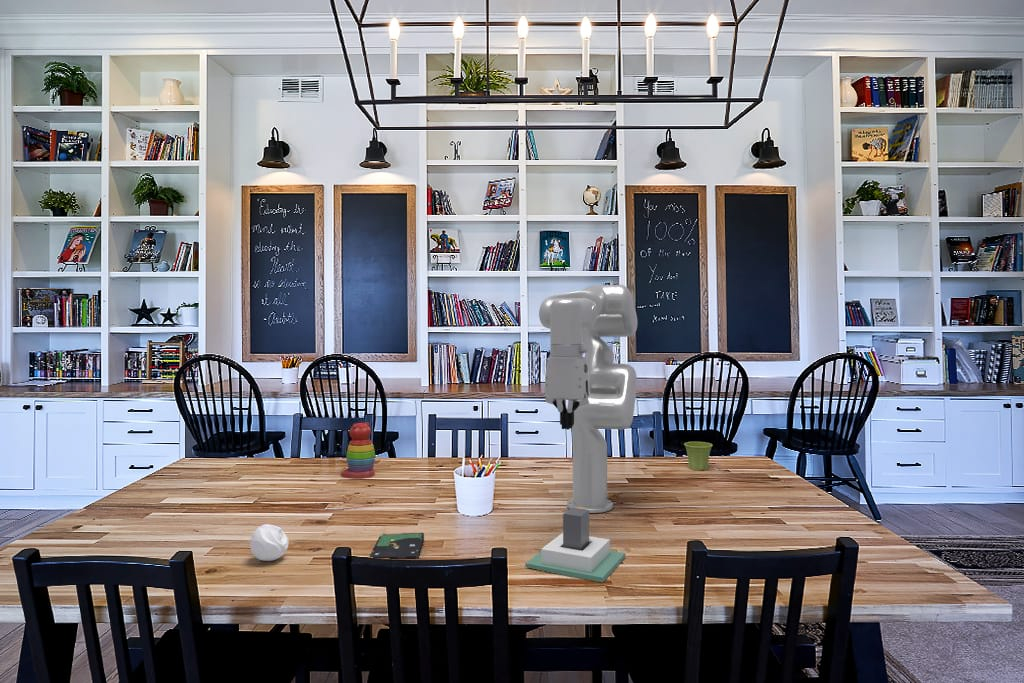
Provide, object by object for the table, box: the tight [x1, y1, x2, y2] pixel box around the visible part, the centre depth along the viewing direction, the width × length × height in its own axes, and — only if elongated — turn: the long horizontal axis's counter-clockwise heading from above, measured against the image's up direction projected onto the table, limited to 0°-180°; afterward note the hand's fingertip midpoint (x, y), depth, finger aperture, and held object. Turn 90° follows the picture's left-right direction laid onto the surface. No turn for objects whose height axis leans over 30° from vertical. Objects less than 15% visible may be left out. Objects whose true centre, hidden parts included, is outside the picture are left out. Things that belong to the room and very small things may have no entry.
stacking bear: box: [340, 422, 376, 480], centre depth 216 cm, size 11×10×18 cm
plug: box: [562, 507, 590, 551], centre depth 138 cm, size 6×4×10 cm, turn 153°
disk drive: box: [368, 532, 425, 560], centre depth 144 cm, size 10×3×15 cm
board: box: [524, 532, 626, 584], centre depth 138 cm, size 15×17×4 cm
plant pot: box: [683, 441, 713, 472], centre depth 224 cm, size 9×9×9 cm
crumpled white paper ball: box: [249, 523, 290, 562], centre depth 140 cm, size 8×8×8 cm
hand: (567, 428), depth 153 cm, fingers closed
